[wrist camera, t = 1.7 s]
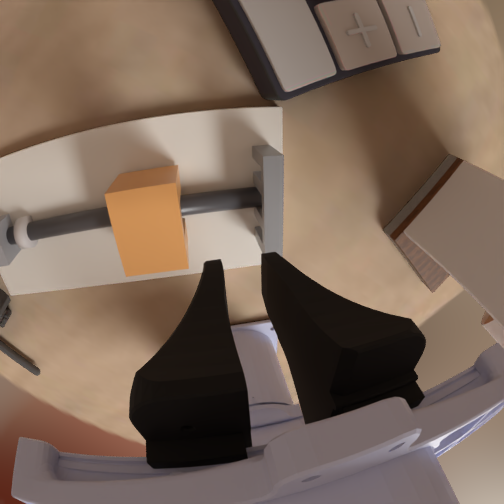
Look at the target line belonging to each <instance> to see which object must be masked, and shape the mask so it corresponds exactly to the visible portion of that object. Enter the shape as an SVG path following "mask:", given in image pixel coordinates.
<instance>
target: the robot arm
mask: <svg viewBox="0 0 504 504" xmlns="http://www.w3.org/2000/svg"><path fill="white" fill-rule="evenodd" d="M261 279H262V296H263V299H264V303H265V307H266V310H267V313H268V316H269V318H270V320H264V321H258V322H252V323H246V324H239V325H233V326H230V322H229V316H228V307H227V298H226V289H225V279H224V270H223V265H222V261H221V259H217V260H209V261H205V263H204V264H203V272H202V275H201V279H200V282H199V285H198V288H197V290H196V293H195V295H194V297H193V300H192V302H191V304H190V306H189V308H188V310H187V312H186V314H185V315H184V317H183V319H182V320H181V322H180V324H179V325H178V327H177V328H176V330H175V331H174V332H173V334H172V335H171V337H170V338H169V339H168V340H167V342H166V343H165V344H164V345H163V346H162V347H161V349H160V350H159V351H158V352H157V353H156V354H155V355H154V356H153V357H152V358H151V359H150V360H149V361H148V362H147V363H146V364H145V365H144V366H143V367H142V368H141V369H139V370H138V371H137V372H136V374H135V377H134V381H133V385H132V389H131V394H130V408H129V418H130V420H131V422H132V424H133V425H134V427H135V428H136V429H137V430H138V431H139V433H140V434H141V435H142V436H143V438H144V439H145V440H146V457H111V456H95V455H83V454H73V453H65V452H59V451H58V450H57V449H56V448H55V447H53V446H52V445H51V444H49V443H47V442H45V441H41V440H35V439H29V438H24V437H20V438H19V442H18V447H17V453H16V460H15V466H14V474H13V483H12V493H11V495H12V496H13V497H14V498H16V499H18V500H20V501H22V502H24V503H27V504H459V502H458V500H457V498H456V495H455V493H454V491H453V489H452V487H451V485H450V483H449V481H448V479H447V477H446V475H445V473H444V471H443V470H442V468H441V465H440V464H439V462H438V460H437V457H439V456H440V455H442V454H443V453H445V452H446V451H448V450H449V449H451V448H452V447H453V446H455V445H457V444H458V443H459V442H461V441H462V440H464V439H465V438H466V437H468V436H469V435H470V434H472V433H473V432H474V431H476V430H477V429H478V428H480V427H481V426H482V425H484V424H485V423H486V422H487V421H489V420H490V419H491V418H492V417H494V416H495V415H496V414H497V413H498V412H499V411H500V410H501V409H502V408H503V407H504V349H503V347H502V346H501V345H500V344H499V343H496V344H495V345H493V346H491V347H489V348H488V349H487V350H485V351H484V352H482V353H481V354H480V356H479V357H478V358H477V360H476V361H475V363H474V365H473V366H472V367H470V368H468V369H466V370H465V371H463V372H461V373H459V374H458V375H456V376H454V377H452V378H450V379H448V380H447V381H445V382H443V383H441V384H439V385H437V386H435V387H433V388H431V389H429V390H427V391H425V392H422V391H421V390H420V388H419V386H418V384H417V383H416V380H417V379H418V375H417V374H416V372H415V371H414V368H415V366H416V365H417V363H418V361H419V359H420V357H421V355H422V354H423V351H424V348H425V345H426V339H425V337H424V335H423V334H422V332H421V331H420V330H419V328H418V327H417V326H416V325H415V323H414V322H413V321H412V320H411V319H409V318H405V317H400V316H395V315H391V314H387V313H383V312H380V311H377V310H373V309H370V308H368V307H365V306H362V305H360V304H357V303H355V302H352V301H350V300H348V299H346V298H343V297H341V296H339V295H337V294H336V293H334V292H332V291H330V290H328V289H326V288H325V287H323V286H321V285H320V284H318V283H317V282H315V281H314V280H312V279H311V278H309V277H308V276H306V275H305V274H303V273H302V272H301V271H299V270H298V269H297V268H295V267H294V266H293V265H292V264H290V263H289V262H288V261H287V260H285V259H284V258H283V257H282V256H280V255H279V254H278V253H277V252H270V253H262V254H261ZM272 327H273V328H272ZM277 337H278V339H279V342H280V344H281V346H282V348H283V351H284V353H285V356H286V358H287V361H288V364H289V368H290V371H291V374H292V378H293V381H294V385H295V388H296V392H297V395H298V399H299V403H300V406H301V409H300V406H299V404H295V405H294V404H293V401H292V398H291V395H290V392H289V389H288V386H287V384H286V381H285V378H284V375H283V372H282V369H281V366H280V363H279V360H278V357H277ZM301 410H302V411H301Z"/></svg>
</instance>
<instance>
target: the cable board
mask: <svg viewBox="0 0 504 504" xmlns="http://www.w3.org/2000/svg"><path fill="white" fill-rule="evenodd" d="M173 165H178V168H179V176H180V184H181V195H180V208H181V215H182V218H185V222H186V228H187V235H188V257H189V269H182V270H175V271H167V272H159V273H152V274H144V275H136V276H128V277H126V275H125V272H124V268H123V265H122V262H121V258H120V255H119V251H118V248H117V244H116V240H115V237H114V233H113V229H112V225H111V221H110V217H109V213H108V208H107V204H106V200H105V195H104V194H105V192H106V191H107V190H108V188H109V187H110V186H111V184H112V183H113V182H114V180H115V179H116V178H117V176H118V175H119V174H123V173H128V172H134V171H140V170H146V169H153V168H159V167H166V166H173ZM283 198H284V155H283V128H282V107H280V106H262V107H239V108H224V109H212V110H201V111H192V112H183V113H175V114H168V115H161V116H154V117H148V118H142V119H137V120H131V121H126V122H121V123H116V124H111V125H107V126H102V127H98V128H93V129H89V130H85V131H81V132H77V133H74V134H70V135H66V136H63V137H59V138H56V139H52V140H49V141H46V142H43V143H39V144H36V145H33V146H30V147H27V148H24V149H22V150H19V151H16V152H13V153H10V154H8V155H5V156H3V157H0V274H1V276H2V278H3V281H4V283H5V285H6V287H7V289H8V291H9V293H10V295H11V296H12V295H21V294H31V293H40V292H49V291H57V290H66V289H75V288H83V287H92V286H100V285H109V284H117V283H125V282H133V281H141V280H149V279H157V278H165V277H172V276H180V275H188V274H195V273H202V272H203V264H204V263H205V261H209V260H217V259H221V261H222V265H223V270H225V269H233V268H240V267H247V266H254V265H261V254H262V253H270V252H277V253H278V254H279V255H280V256H282V253H283Z"/></svg>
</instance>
